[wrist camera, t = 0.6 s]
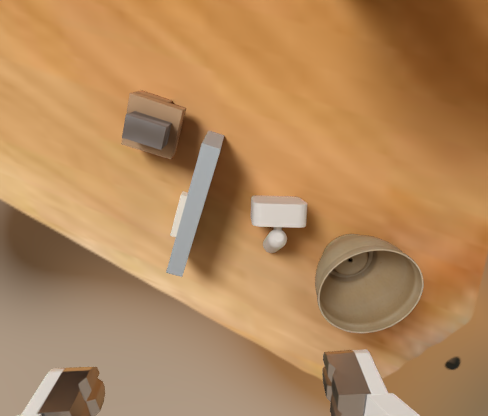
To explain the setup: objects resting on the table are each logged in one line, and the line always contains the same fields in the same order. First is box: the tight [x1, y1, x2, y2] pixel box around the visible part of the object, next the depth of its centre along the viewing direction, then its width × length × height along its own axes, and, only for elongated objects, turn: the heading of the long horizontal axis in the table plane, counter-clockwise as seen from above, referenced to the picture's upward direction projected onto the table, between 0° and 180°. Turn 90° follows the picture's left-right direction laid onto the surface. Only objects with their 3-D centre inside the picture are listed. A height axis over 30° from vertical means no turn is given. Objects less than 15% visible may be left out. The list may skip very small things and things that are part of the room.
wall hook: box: [251, 196, 307, 253], centre depth 50 cm, size 8×10×10 cm
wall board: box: [166, 131, 224, 277], centre depth 47 cm, size 21×4×9 cm, turn 162°
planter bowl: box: [315, 234, 423, 333], centre depth 52 cm, size 16×16×11 cm
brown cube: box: [121, 91, 186, 159], centre depth 43 cm, size 7×7×9 cm
